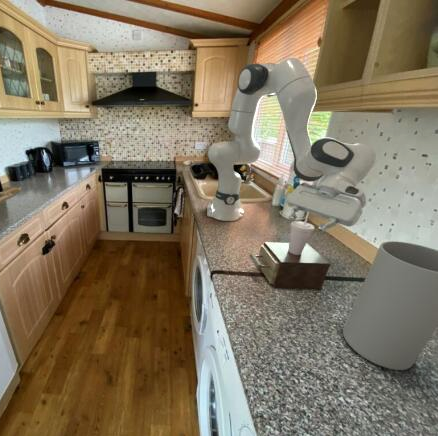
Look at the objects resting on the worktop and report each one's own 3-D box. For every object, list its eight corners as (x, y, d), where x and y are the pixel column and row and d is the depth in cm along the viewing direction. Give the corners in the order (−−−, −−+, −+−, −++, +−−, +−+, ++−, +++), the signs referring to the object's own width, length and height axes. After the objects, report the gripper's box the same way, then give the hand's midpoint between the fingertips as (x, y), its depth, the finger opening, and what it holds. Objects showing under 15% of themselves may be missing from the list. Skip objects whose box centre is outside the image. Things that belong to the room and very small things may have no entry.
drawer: (256, 283, 77) (261, 262, 74) (244, 263, 88) (248, 244, 85) (313, 285, 77) (320, 264, 74) (294, 265, 87) (300, 246, 84)
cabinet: (274, 287, 77) (281, 262, 73) (259, 265, 89) (264, 242, 85) (321, 289, 77) (330, 263, 73) (299, 266, 88) (306, 243, 84)
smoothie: (309, 258, 75) (322, 216, 70) (287, 255, 77) (298, 214, 71) (301, 248, 81) (313, 209, 76) (281, 245, 82) (291, 207, 77)
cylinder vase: (329, 327, 63) (364, 242, 53) (373, 324, 64) (415, 240, 54) (375, 374, 51) (431, 277, 41) (427, 369, 52) (494, 274, 43)
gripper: (298, 177, 83) (272, 208, 82) (370, 193, 66) (338, 232, 66) (303, 188, 86) (278, 217, 86) (372, 206, 69) (342, 243, 69)
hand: (305, 224), depth 76 cm, fingers open, 8 cm apart
